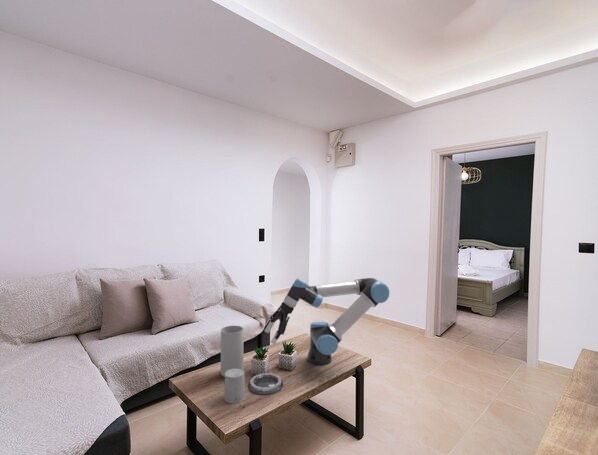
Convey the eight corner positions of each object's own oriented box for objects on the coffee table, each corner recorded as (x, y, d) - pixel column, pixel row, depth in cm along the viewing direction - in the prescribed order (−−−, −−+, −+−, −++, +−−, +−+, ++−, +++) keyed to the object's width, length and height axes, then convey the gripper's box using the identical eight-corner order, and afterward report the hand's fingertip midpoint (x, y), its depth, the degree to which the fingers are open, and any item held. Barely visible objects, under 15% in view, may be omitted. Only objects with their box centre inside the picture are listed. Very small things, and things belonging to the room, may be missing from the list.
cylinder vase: (230, 381, 169) (230, 334, 169) (216, 374, 177) (216, 329, 176) (248, 372, 179) (248, 328, 179) (233, 366, 187) (233, 324, 186)
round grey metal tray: (282, 376, 175) (282, 371, 175) (283, 393, 157) (283, 388, 157) (249, 377, 173) (249, 373, 173) (247, 395, 155) (247, 390, 155)
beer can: (221, 402, 150) (221, 376, 149) (228, 391, 159) (228, 367, 159) (241, 404, 148) (241, 378, 148) (247, 393, 158) (247, 368, 158)
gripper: (277, 294, 189) (258, 325, 188) (290, 310, 166) (269, 345, 164) (287, 299, 192) (269, 330, 190) (301, 315, 168) (281, 350, 167)
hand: (269, 337), depth 177 cm, fingers open, 13 cm apart
